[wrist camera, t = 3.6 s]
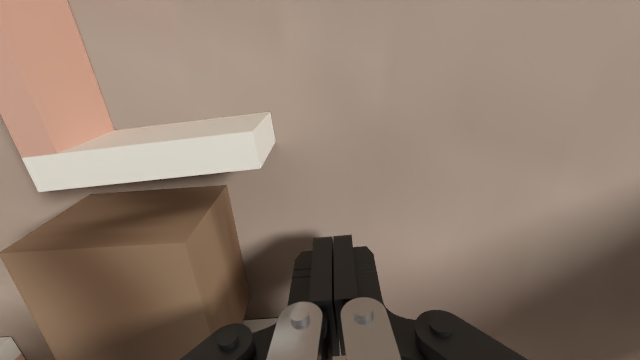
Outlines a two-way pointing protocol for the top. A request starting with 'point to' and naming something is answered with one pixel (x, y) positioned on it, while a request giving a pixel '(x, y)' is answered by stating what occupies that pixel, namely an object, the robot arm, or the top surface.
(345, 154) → the top surface
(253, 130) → the corral
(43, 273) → the walnut block
